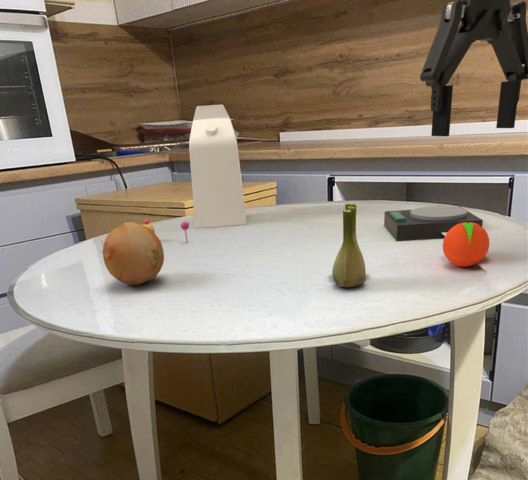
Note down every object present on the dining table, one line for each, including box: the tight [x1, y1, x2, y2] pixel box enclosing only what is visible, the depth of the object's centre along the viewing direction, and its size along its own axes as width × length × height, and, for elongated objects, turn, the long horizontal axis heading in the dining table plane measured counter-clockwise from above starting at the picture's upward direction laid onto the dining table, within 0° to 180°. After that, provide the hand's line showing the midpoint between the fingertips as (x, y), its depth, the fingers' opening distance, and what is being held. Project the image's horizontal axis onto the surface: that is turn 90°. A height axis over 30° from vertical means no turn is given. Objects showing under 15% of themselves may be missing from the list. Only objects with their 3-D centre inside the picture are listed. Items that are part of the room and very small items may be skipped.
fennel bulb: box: [331, 203, 367, 288], centre depth 78 cm, size 6×5×12 cm
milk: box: [188, 104, 247, 229], centre depth 125 cm, size 12×12×26 cm
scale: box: [383, 205, 484, 242], centre depth 108 cm, size 16×14×4 cm
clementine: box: [442, 221, 490, 268], centre depth 83 cm, size 8×7×7 cm
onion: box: [102, 221, 165, 286], centre depth 87 cm, size 10×10×10 cm
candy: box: [100, 213, 190, 248], centre depth 112 cm, size 18×8×6 cm, turn 109°
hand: (473, 132), depth 80 cm, fingers open, 13 cm apart
